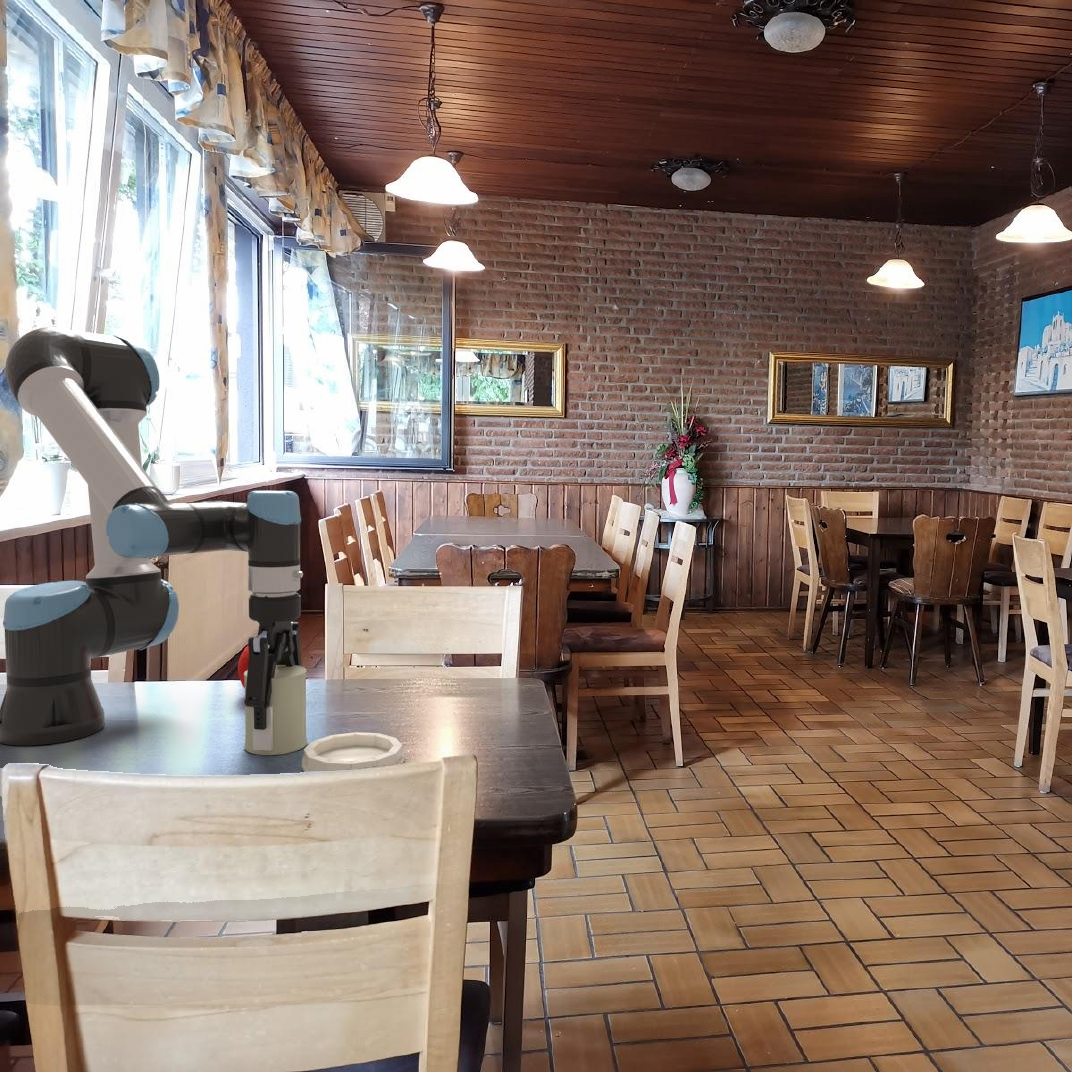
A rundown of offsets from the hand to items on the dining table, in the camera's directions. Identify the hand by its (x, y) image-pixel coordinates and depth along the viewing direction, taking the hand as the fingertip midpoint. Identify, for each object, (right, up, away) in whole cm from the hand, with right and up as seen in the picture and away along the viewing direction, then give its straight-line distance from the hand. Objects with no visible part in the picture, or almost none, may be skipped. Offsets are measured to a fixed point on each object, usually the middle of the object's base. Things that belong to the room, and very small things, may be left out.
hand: (276, 738), depth 128 cm
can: (0, -1, 0) cm, 1 cm away
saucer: (+13, -2, -7) cm, 15 cm away
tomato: (-10, +1, +28) cm, 30 cm away
